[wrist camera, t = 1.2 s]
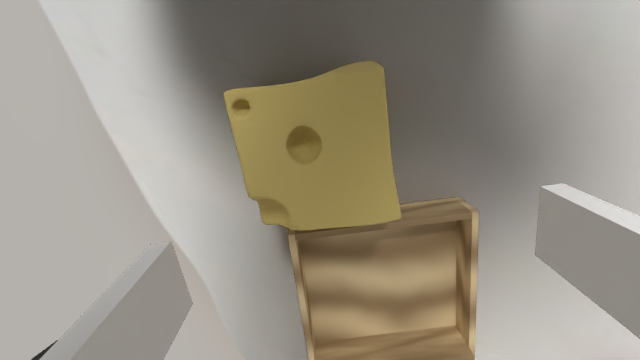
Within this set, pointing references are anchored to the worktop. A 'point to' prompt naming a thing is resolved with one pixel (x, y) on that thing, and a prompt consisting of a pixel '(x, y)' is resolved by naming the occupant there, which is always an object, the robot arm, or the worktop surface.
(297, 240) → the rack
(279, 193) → the cheese
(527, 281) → the worktop surface
